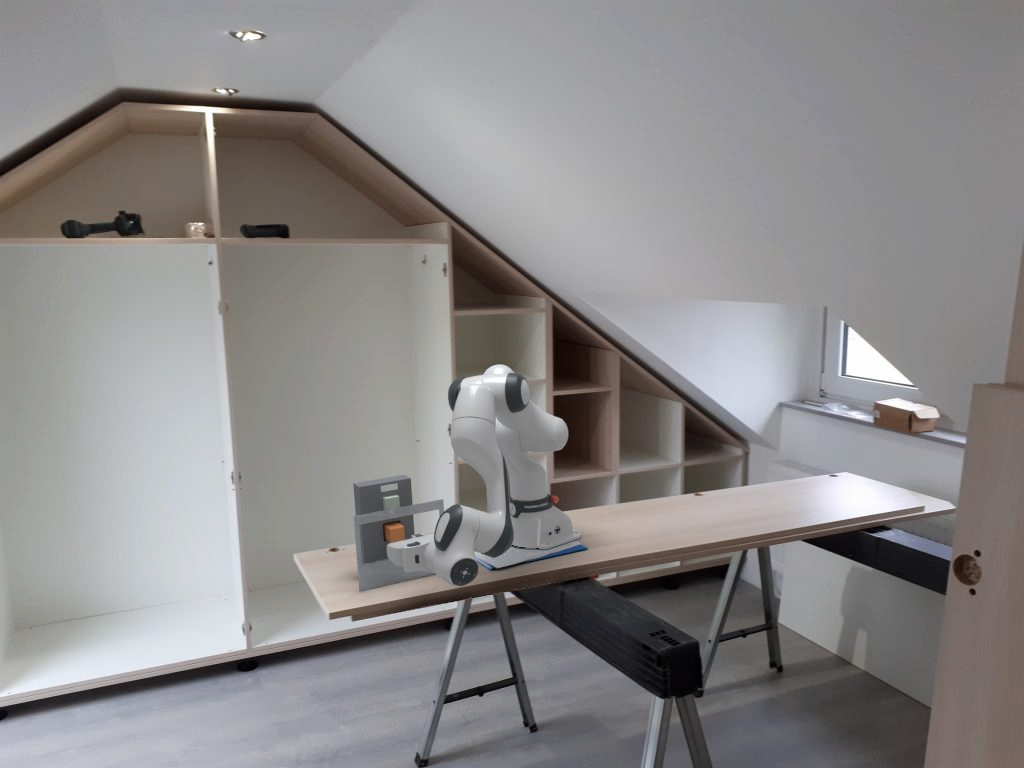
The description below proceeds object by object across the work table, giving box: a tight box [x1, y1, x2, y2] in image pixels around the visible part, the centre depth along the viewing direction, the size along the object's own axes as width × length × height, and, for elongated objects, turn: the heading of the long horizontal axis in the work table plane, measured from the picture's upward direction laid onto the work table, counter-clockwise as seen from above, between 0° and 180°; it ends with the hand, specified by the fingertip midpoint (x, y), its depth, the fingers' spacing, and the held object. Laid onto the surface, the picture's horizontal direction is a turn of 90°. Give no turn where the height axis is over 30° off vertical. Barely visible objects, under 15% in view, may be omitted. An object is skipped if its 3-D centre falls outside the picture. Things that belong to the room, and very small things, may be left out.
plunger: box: [383, 521, 405, 543], centre depth 233 cm, size 7×4×4 cm, turn 28°
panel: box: [352, 474, 416, 564], centre depth 235 cm, size 7×15×26 cm, turn 118°
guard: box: [353, 498, 445, 592], centre depth 231 cm, size 8×25×20 cm, turn 118°
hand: (416, 537), depth 218 cm, fingers closed
